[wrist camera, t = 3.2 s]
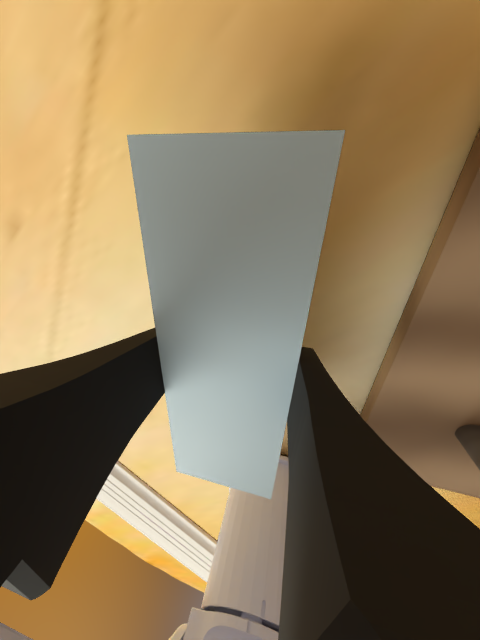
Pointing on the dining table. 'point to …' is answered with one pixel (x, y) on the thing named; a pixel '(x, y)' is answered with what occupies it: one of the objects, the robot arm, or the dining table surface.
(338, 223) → the dining table surface
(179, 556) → the baseboard molding
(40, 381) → the robot arm
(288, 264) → the pale grey block
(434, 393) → the brown slab
